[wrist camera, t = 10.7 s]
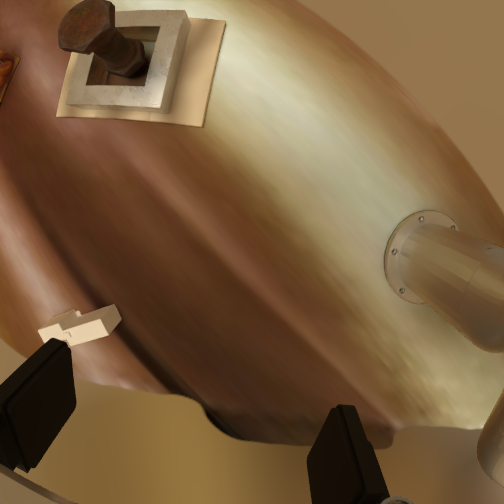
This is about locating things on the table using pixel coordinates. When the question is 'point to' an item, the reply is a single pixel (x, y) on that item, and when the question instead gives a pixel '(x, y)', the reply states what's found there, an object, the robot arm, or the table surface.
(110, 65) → the bolt
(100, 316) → the beige stepped block
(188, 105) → the beech board
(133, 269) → the table surface
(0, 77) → the candy box
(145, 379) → the table surface
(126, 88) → the steel socket collar
